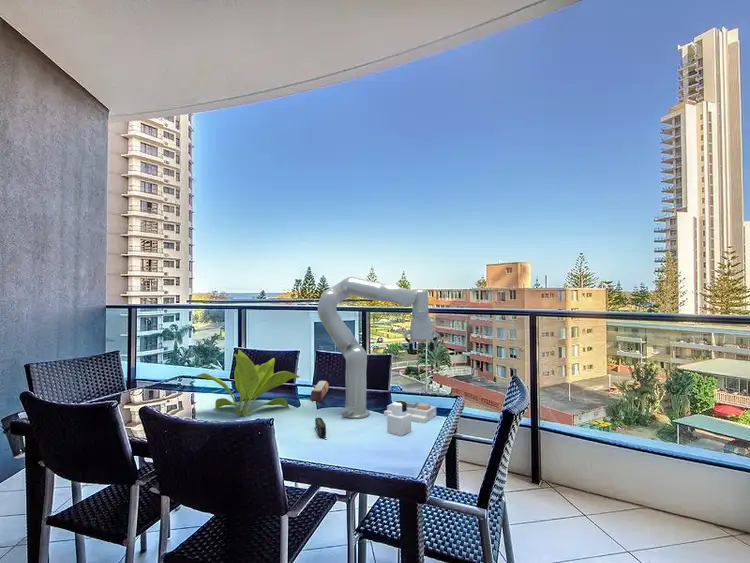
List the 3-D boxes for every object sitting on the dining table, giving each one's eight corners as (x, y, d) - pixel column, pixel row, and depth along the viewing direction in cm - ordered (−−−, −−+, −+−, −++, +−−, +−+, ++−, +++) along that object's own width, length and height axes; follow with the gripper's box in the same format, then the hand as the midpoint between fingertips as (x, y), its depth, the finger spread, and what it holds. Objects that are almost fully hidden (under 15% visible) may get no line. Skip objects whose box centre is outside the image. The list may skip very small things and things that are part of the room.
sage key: (402, 407, 186) (402, 402, 186) (393, 405, 188) (393, 401, 188) (406, 404, 190) (406, 400, 190) (398, 403, 192) (398, 399, 192)
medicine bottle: (397, 427, 168) (397, 398, 168) (411, 431, 164) (411, 401, 164) (386, 432, 163) (386, 402, 163) (401, 436, 158) (401, 405, 158)
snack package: (322, 402, 208) (322, 389, 209) (309, 402, 209) (309, 388, 209) (329, 392, 230) (329, 380, 230) (317, 392, 230) (317, 380, 230)
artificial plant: (303, 428, 187) (316, 368, 205) (237, 392, 158) (259, 325, 176) (237, 431, 206) (254, 376, 223) (167, 400, 176) (193, 339, 194)
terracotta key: (425, 411, 180) (425, 406, 180) (417, 409, 182) (416, 405, 182) (430, 408, 183) (430, 404, 183) (421, 407, 186) (421, 402, 186)
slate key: (413, 409, 183) (413, 404, 183) (405, 407, 185) (405, 403, 185) (418, 406, 187) (418, 402, 187) (409, 405, 189) (409, 401, 189)
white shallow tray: (424, 423, 174) (424, 413, 174) (383, 415, 184) (383, 407, 184) (436, 415, 185) (436, 406, 185) (397, 409, 195) (397, 400, 195)
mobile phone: (314, 416, 168) (320, 427, 154) (321, 416, 169) (328, 426, 155) (314, 429, 168) (320, 440, 154) (321, 428, 169) (328, 439, 155)
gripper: (404, 316, 188) (404, 353, 188) (440, 315, 190) (441, 352, 190) (401, 315, 196) (402, 351, 195) (436, 314, 198) (437, 349, 197)
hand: (421, 351), depth 192 cm, fingers open, 9 cm apart
